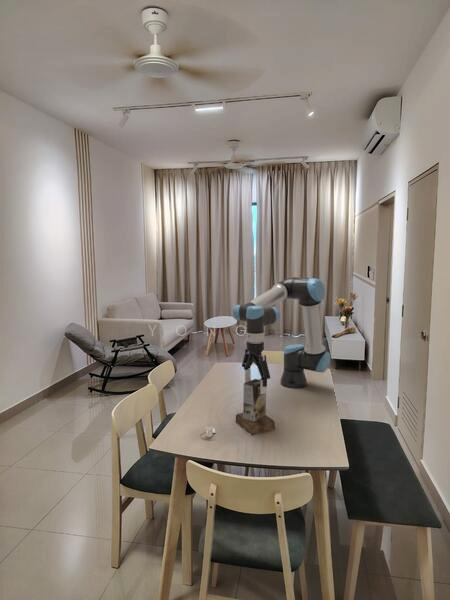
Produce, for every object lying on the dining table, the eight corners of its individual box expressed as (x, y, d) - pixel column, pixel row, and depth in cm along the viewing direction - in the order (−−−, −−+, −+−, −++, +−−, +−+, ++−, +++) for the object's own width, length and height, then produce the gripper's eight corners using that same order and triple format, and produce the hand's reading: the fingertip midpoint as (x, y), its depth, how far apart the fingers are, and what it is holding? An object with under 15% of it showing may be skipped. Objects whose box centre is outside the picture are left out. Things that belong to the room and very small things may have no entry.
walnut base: (258, 416, 180) (258, 408, 180) (274, 429, 168) (274, 420, 167) (235, 422, 175) (235, 413, 174) (251, 435, 162) (251, 426, 162)
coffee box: (254, 422, 165) (254, 386, 163) (242, 418, 169) (242, 383, 167) (266, 415, 172) (266, 381, 170) (254, 411, 176) (255, 378, 174)
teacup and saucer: (209, 430, 168) (209, 421, 167) (223, 435, 163) (223, 426, 162) (195, 437, 161) (195, 428, 161) (210, 443, 156) (209, 434, 156)
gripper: (234, 336, 176) (234, 380, 179) (263, 349, 154) (263, 399, 157) (248, 334, 179) (248, 378, 182) (278, 346, 157) (278, 396, 160)
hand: (255, 388), depth 169 cm, fingers open, 13 cm apart
